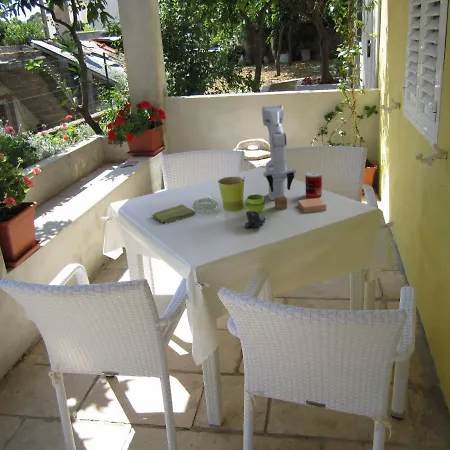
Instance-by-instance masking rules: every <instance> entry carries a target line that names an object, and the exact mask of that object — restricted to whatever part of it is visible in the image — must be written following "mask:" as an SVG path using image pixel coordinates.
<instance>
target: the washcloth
mask: <svg viewBox="0 0 450 450" xmlns="http://www.w3.org/2000/svg"><path fill="white" fill-rule="evenodd" d="M193 215H194V216H195V215H196V210H194V209H191V208H189V207H188V206H186V205H185V204H178V205H177V206H172V207H169V208H166V209H163V210H160V211H156V212H154V213H153V214H151V217H152V216H153V217H154V218H153V217H152V218H153V219H156V221H159V222H161V223H163V224H165V223H168V224H171V223H174V222H177V221H176V220H178V221H180V220H184V219H187V218H190V216H191V217H193ZM183 218H184V219H183ZM173 221H174V222H173ZM164 222H165V223H164ZM170 222H171V223H170Z"/></svg>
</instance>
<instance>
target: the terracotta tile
mask: <svg viewBox="0 0 450 450" xmlns="http://www.w3.org/2000/svg"><path fill="white" fill-rule="evenodd" d="M297 206H298V207H299V208H300V209H301V211H302V212H303V213H304V214H305V213H311V212H312V213H314V212H321V211H326V210H327V204H326V203H325V202H324V201H323V200H322V199H321V197H319V198H308V199H300V200H297Z"/></svg>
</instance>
